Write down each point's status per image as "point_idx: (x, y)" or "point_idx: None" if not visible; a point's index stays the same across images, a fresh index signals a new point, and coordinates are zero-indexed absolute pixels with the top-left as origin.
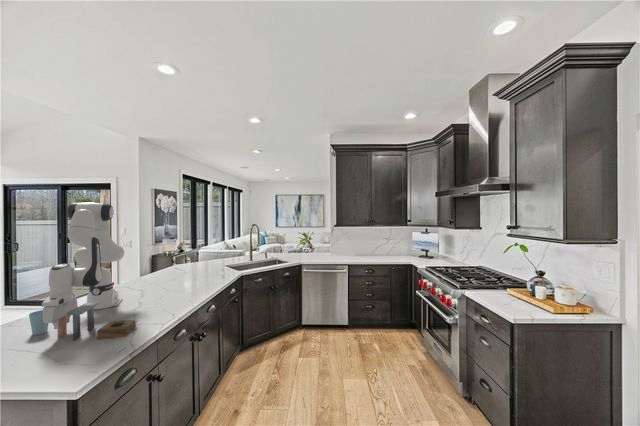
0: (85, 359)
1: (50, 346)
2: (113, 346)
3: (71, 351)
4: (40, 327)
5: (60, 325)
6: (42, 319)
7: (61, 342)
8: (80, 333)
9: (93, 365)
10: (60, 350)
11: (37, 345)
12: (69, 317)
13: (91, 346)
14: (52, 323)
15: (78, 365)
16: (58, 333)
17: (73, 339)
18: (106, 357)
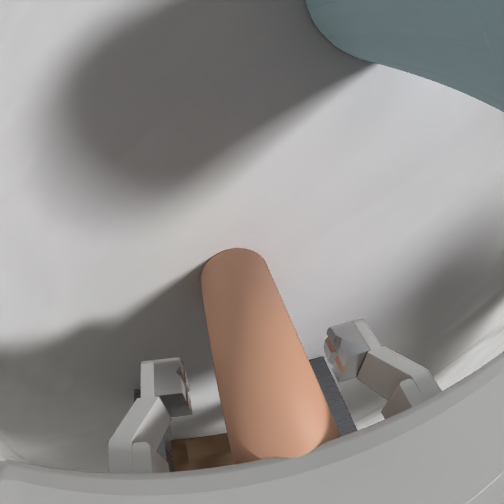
0: (28, 450)
1: (32, 340)
2: (107, 469)
3: (39, 423)
4: (356, 23)
5: (216, 379)
6: (464, 55)
7: (92, 360)
8: (169, 423)
9: (21, 459)
10: (26, 397)
11: (16, 244)
12: (373, 386)
13: (91, 446)
14: (116, 430)
15: (5, 446)
16: (205, 291)
17: (134, 393)
18: None
